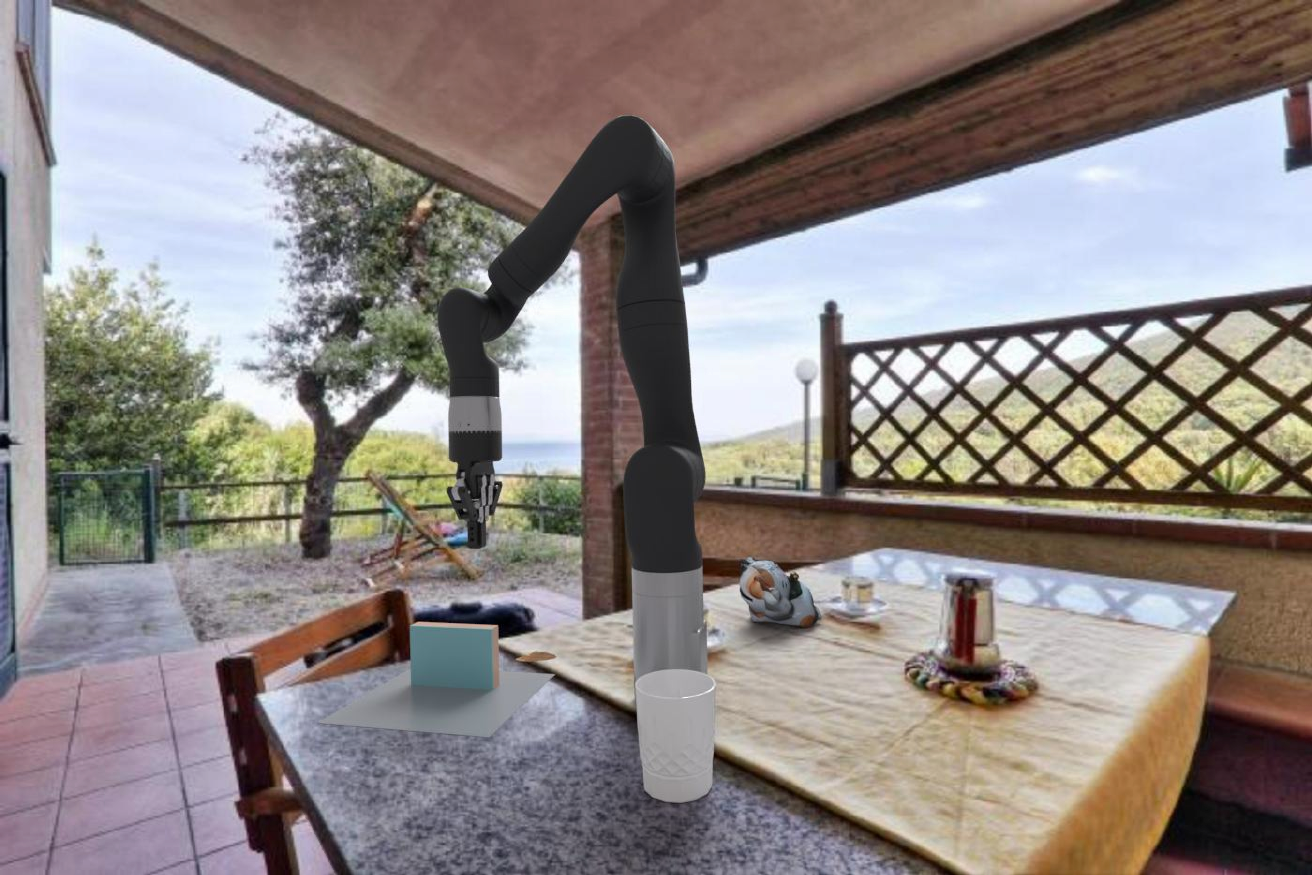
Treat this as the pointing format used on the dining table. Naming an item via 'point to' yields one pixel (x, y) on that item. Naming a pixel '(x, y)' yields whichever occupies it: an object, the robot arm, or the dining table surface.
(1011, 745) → the dining table surface
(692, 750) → the white cup
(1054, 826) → the dining table surface
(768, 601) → the lucky cat figurine
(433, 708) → the board
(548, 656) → the shard
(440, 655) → the tile
